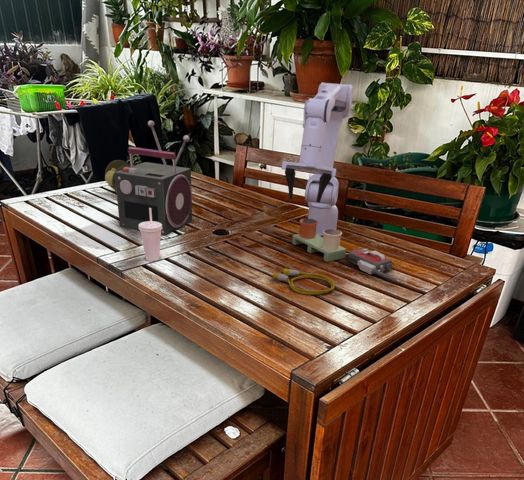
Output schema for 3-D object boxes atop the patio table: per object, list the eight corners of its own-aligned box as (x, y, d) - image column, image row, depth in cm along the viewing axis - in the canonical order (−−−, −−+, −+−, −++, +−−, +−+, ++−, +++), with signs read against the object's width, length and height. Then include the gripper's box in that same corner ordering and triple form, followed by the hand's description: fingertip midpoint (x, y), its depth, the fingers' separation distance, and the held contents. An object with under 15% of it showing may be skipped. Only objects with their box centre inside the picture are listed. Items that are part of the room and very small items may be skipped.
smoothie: (168, 256, 146) (165, 207, 139) (157, 264, 141) (153, 213, 134) (148, 252, 148) (144, 204, 140) (136, 260, 142) (132, 210, 135)
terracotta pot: (309, 232, 161) (310, 217, 159) (320, 237, 157) (321, 222, 155) (294, 234, 158) (296, 219, 156) (305, 240, 155) (307, 224, 152)
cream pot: (331, 243, 154) (333, 227, 151) (344, 248, 150) (346, 233, 147) (317, 245, 151) (319, 230, 148) (329, 252, 147) (331, 236, 145)
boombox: (116, 227, 165) (105, 126, 149) (151, 210, 182) (145, 118, 166) (165, 236, 160) (159, 133, 144) (197, 219, 176) (194, 124, 161)
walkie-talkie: (338, 261, 149) (392, 286, 135) (340, 246, 146) (395, 270, 133) (359, 255, 153) (413, 279, 140) (361, 241, 151) (416, 263, 138)
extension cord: (303, 268, 143) (303, 261, 142) (343, 288, 133) (344, 281, 132) (268, 278, 136) (269, 271, 135) (308, 300, 126) (309, 292, 125)
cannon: (164, 185, 211) (162, 156, 205) (174, 193, 203) (173, 163, 197) (103, 191, 200) (99, 160, 194) (111, 199, 192) (107, 167, 186)
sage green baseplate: (309, 240, 163) (310, 231, 162) (345, 257, 151) (346, 248, 150) (291, 243, 160) (292, 234, 158) (327, 262, 148) (328, 252, 146)
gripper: (286, 142, 132) (279, 196, 136) (341, 150, 134) (333, 204, 137) (283, 145, 139) (276, 197, 143) (336, 152, 140) (328, 204, 144)
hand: (304, 200), depth 140 cm, fingers open, 7 cm apart
